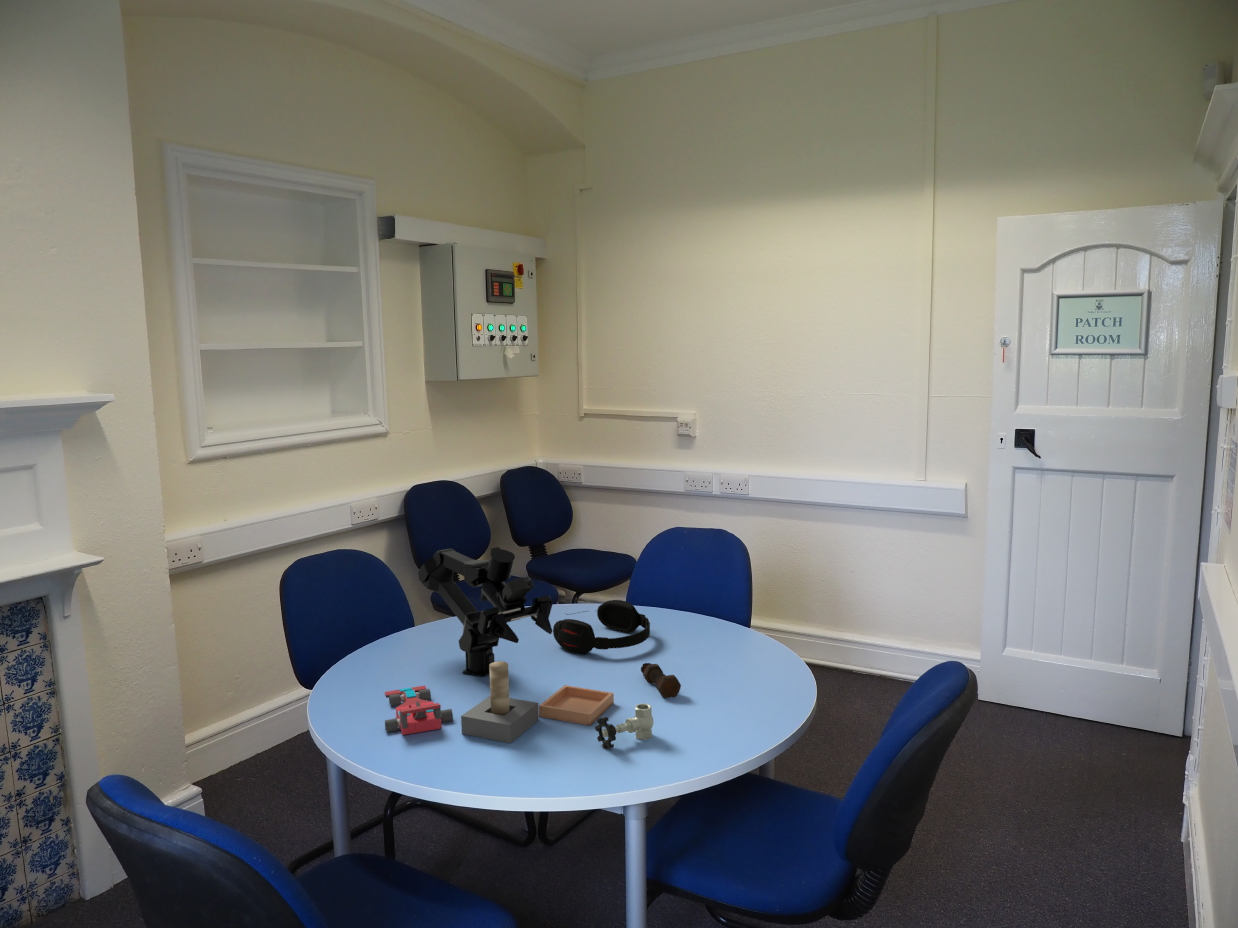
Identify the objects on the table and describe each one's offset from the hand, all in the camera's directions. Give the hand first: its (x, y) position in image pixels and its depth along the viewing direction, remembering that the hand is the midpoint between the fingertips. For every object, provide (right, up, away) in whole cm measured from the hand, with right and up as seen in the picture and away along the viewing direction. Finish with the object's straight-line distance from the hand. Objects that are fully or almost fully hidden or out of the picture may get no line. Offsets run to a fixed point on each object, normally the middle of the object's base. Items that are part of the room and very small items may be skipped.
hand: (534, 636), depth 192 cm
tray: (+10, -16, -2) cm, 19 cm away
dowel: (-6, -17, -11) cm, 21 cm away
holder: (-6, -17, -11) cm, 21 cm away
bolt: (+29, -15, +11) cm, 34 cm away
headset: (+14, -10, +44) cm, 48 cm away
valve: (+21, -18, -18) cm, 33 cm away
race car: (-27, -17, -1) cm, 32 cm away
